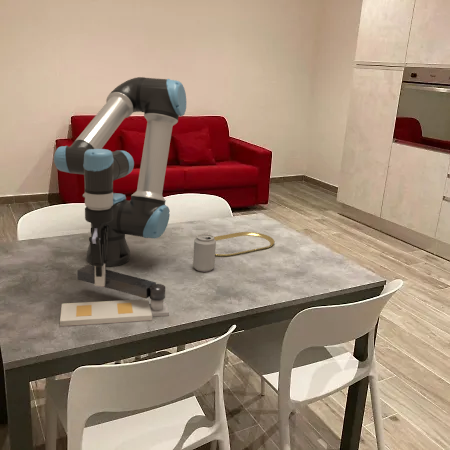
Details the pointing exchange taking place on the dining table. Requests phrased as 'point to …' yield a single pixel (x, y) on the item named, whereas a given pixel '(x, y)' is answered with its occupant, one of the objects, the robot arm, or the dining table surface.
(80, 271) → the swing arm
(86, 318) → the panel
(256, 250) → the curved rod
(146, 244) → the dining table surface
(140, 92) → the robot arm
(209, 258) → the can
